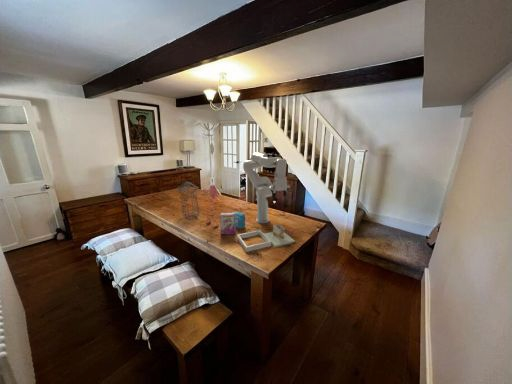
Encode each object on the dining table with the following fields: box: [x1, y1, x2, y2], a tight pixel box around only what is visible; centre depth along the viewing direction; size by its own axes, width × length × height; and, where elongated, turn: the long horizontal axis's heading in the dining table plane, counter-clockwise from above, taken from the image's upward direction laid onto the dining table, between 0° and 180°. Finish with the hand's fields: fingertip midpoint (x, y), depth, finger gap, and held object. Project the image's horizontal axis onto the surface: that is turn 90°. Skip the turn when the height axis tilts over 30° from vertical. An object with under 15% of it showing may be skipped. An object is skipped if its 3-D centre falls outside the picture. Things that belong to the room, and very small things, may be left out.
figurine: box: [203, 184, 222, 228], centre depth 168 cm, size 15×26×35 cm, turn 45°
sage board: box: [263, 231, 295, 248], centre depth 147 cm, size 18×16×2 cm
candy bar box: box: [219, 212, 236, 235], centre depth 153 cm, size 11×5×16 cm, turn 92°
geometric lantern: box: [176, 181, 200, 221], centre depth 179 cm, size 16×16×35 cm
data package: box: [232, 211, 246, 229], centre depth 165 cm, size 12×4×12 cm, turn 57°
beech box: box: [272, 224, 286, 240], centre depth 145 cm, size 5×8×8 cm, turn 24°
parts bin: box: [236, 229, 272, 253], centre depth 142 cm, size 19×19×4 cm
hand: (279, 196), depth 152 cm, fingers open, 9 cm apart
